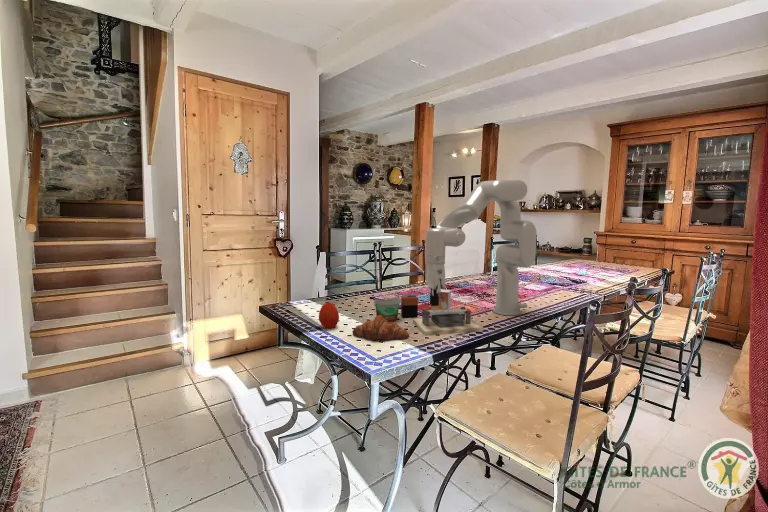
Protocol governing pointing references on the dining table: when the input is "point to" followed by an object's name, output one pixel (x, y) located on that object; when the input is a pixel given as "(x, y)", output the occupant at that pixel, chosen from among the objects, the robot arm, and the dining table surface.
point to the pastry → (380, 330)
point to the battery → (409, 306)
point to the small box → (443, 300)
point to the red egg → (328, 316)
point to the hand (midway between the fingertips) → (434, 305)
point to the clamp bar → (447, 311)
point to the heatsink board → (446, 323)
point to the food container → (388, 308)
